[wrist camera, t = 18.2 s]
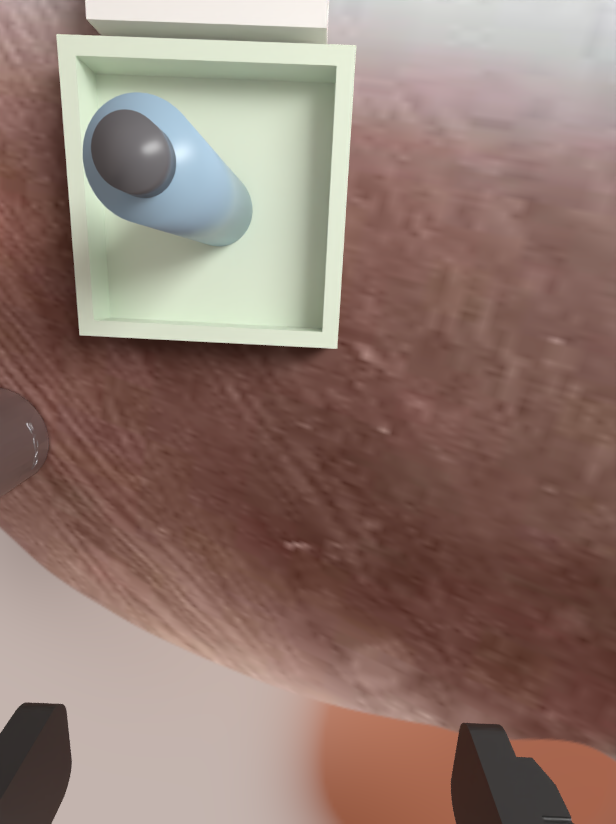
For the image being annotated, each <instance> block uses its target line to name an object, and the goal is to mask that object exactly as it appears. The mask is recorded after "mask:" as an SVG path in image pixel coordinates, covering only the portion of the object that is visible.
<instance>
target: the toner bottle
mask: <svg viewBox="0 0 616 824" xmlns="http://www.w3.org/2000/svg"><path fill="white" fill-rule="evenodd" d="M83 165H84V170H85V174H86V177H87V180H88V182H89V184H90V186H91V188H92V190H93V192H94V193H95V195H96V197H97V198H98V199H99V200H100V202H101V203H102V204H103V205H104V206H105V207H106V208H107V209H108V210H110V211H111V212H112V213H114V214H115V215H117V216H119V217H120V218H122V219H125V220H127V221H130V222H133V223H136V224H140V225H143V226H147V227H150V228H153V229H157V230H160V231H164V232H167V233H170V234H174V235H177V236H181V237H184V238H187V239H191V240H194V241H198V242H201V243H204V244H208V245H211V246H226V245H230V244H232V243H234V242H236V241H237V240H239V239H240V238H241V237H242V236H243V235H244V234H245V232H246V231H247V229H248V227H249V225H250V222H251V219H252V201H251V198H250V195H249V192H248V190H247V189H246V187H245V186H244V184H243V183H242V182H241V181H240V180H239V178H238V177H237V176H236V175H235V174H234V173H233V172H232V170H231V169H230V168H229V167H228V166H227V165H226V164H225V162H224V161H223V160H222V159H221V158H220V157H219V155H218V154H217V153H216V152H215V151H214V150H213V149H212V147H211V146H210V145H209V144H208V143H207V142H206V141H205V139H204V138H203V137H202V136H201V135H200V134H199V132H198V131H197V130H196V129H195V128H194V127H193V126H192V124H191V123H190V122H189V121H188V120H187V119H186V118H185V116H184V115H183V114H182V113H181V112H180V111H179V110H178V109H177V108H176V107H174V106H173V105H172V104H171V103H169V102H168V101H166V100H164V99H162V98H160V97H158V96H155V95H152V94H148V93H141V92H134V93H126V94H122V95H119V96H116V97H114V98H113V99H111V100H109V101H108V102H106V103H105V104H104V105H102V106H101V107H100V108H99V109H98V110H97V112H96V113H95V114H94V116H93V117H92V119H91V121H90V123H89V124H88V127H87V130H86V132H85V136H84V140H83Z"/></svg>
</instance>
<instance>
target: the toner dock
mask: <svg viewBox="0 0 616 824" xmlns="http://www.w3.org/2000/svg"><path fill="white" fill-rule="evenodd" d="M85 7H86V19H87V20H88V21H89V23H90V24H91V25H92V26H93V27H94V28H95V29H96V30H97V31H98V32H99V33H100V35H101V36H121V37H147V38H174V39H201V40H227V41H254V42H281V43H307V44H327V36H328V16H329V0H85Z"/></svg>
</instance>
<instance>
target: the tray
mask: <svg viewBox="0 0 616 824" xmlns="http://www.w3.org/2000/svg"><path fill="white" fill-rule="evenodd" d="M56 36H57V49H58V62H59V75H60V88H61V101H62V114H63V127H64V140H65V153H66V166H67V179H68V192H69V205H70V218H71V231H72V244H73V257H74V270H75V283H76V296H77V309H78V322H79V335H84V336H103V337H122V338H141V339H161V340H180V341H199V342H218V343H238V344H257V345H276V346H295V347H315V348H334V349H337V342H338V326H339V311H340V295H341V279H342V263H343V247H344V231H345V215H346V199H347V183H348V168H349V152H350V136H351V120H352V104H353V88H354V72H355V56H356V45H334V44H307V43H281V42H254V41H227V40H201V39H174V38H147V37H121V36H94V35H67V34H56ZM134 92H141V93H148V94H152V95H155V96H158V97H160V98H162V99H164V100H166V101H168V102H169V103H171V104H172V105H173V106H174V107H176V108H177V109H178V110H179V111H180V112H181V113H182V114H183V115H184V116H185V118H186V119H187V120H188V121H189V122H190V123H191V124H192V126H193V127H194V128H195V129H196V130H197V131H198V132H199V134H200V135H201V136H202V137H203V138H204V139H205V141H206V142H207V143H208V144H209V145H210V146H211V147H212V149H213V150H214V151H215V152H216V153H217V154H218V155H219V157H220V158H221V159H222V160H223V161H224V162H225V164H226V165H227V166H228V167H229V168H230V169H231V170H232V172H233V173H234V174H235V175H236V176H237V177H238V178H239V180H240V181H241V182H242V183H243V184H244V186H245V187H246V189H247V190H248V192H249V195H250V198H251V201H252V219H251V222H250V225H249V227H248V229H247V231H246V232H245V234H244V235H243V236H242V237H241V238H240V239H239V240H237V241H236V242H234V243H232V244H230V245H226V246H211V245H208V244H204V243H201V242H198V241H194V240H191V239H187V238H184V237H181V236H177V235H174V234H170V233H167V232H164V231H160V230H157V229H153V228H150V227H147V226H143V225H140V224H136V223H133V222H130V221H127V220H125V219H122V218H120V217H119V216H117V215H115V214H114V213H112V212H111V211H110V210H108V209H107V208H106V207H105V206H104V205H103V204H102V203H101V202H100V200H99V199H98V198H97V197H96V195H95V193H94V192H93V190H92V188H91V186H90V184H89V182H88V180H87V177H86V174H85V170H84V165H83V140H84V136H85V132H86V130H87V127H88V124H89V123H90V121H91V119H92V117H93V116H94V114H95V113H96V112H97V110H98V109H99V108H100V107H101V106H102V105H104V104H105V103H106V102H108V101H109V100H111V99H113V98H114V97H116V96H119V95H122V94H126V93H134Z"/></svg>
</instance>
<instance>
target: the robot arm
mask: <svg viewBox="0 0 616 824" xmlns="http://www.w3.org/2000/svg"><path fill="white" fill-rule="evenodd" d="M48 449H49V438H48V433H47V429H46V426H45V424H44V422H43V419H42V418H41V416H40V415H39V413H38V412H37V410H36V409H35V408H34V407H33V406H32V405H31V404H30V403H29V402H28V401H27V400H26V399H24V398H23V397H21V396H20V395H18V394H16V393H14V392H12V391H10V390H7V389H3V388H0V497H1V496H3V495H4V494H6V493H7V492H9V491H10V490H12V489H13V488H15V487H16V486H18V485H19V484H21V483H22V482H23V481H25V480H26V479H28V478H29V477H31V476H32V475H34V474H35V473H36V472H37V471H38V470H39V469H40V468H41V467H42V465H43V463H44V462H45V460H46V457H47V453H48ZM71 764H72V761H71V750H70V740H69V731H68V721H67V712H66V708H65V706H64V705H63V704H48V703H23V704H22V705H21V706H19V708H18V709H17V710H16V711H15V713H14V714H13V716H12V717H11V719H10V720H9V721H8V723H7V725H6V726H5V727H4V729H3V731H2V732H1V733H0V824H51V823H52V821H53V819H54V817H55V815H56V813H57V811H58V808H59V806H60V804H61V802H62V800H63V797H64V795H65V792H66V789H67V786H68V782H69V778H70V773H71ZM451 796H452V805H453V811H454V816H455V820H456V824H573V823H572V821H571V816H570V814H569V812H568V810H567V808H566V805H565V804H564V801H563V799H562V797H561V795H560V793H559V791H558V789H557V787H556V785H555V784H554V783H553V782H552V780H551V779H550V778H549V777H548V776H547V774H546V773H545V772H544V771H543V770H542V769H541V767H540V766H539V765H538V764H537V763H536V762H535V761H534V760H533V758H525V757H516V756H515V753H514V751H513V748H512V746H511V744H510V741H509V739H508V737H507V734H506V732H505V730H504V729H503V727H502V726H501V725H498V724H475V723H462V724H461V726H460V730H459V736H458V742H457V748H456V753H455V760H454V765H453V771H452V778H451Z"/></svg>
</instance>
